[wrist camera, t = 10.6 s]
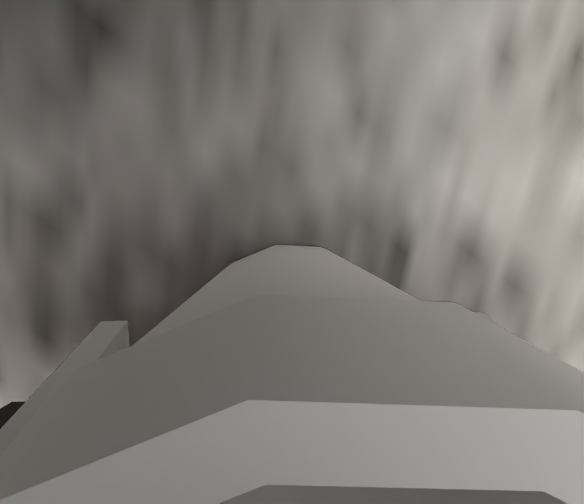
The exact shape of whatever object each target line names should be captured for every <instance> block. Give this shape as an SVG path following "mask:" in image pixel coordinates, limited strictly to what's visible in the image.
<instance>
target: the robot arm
mask: <svg viewBox="0 0 584 504" xmlns="http://www.w3.org/2000/svg"><path fill="white" fill-rule="evenodd" d="M473 313H475V314H477V315H479V316H481V317H483V318H484V319H486V320H488V321H490V322H492V323H494V324H496V325H497V326H499V325H498V324H497V323H496V322H494V321H493V320H492V319H491V318H489V317H488V316H487V315H486V314H484V313H483V312H473ZM499 327H500V326H499ZM501 328H502V327H501ZM128 347H130V344H129V331H128V321H101V322H100V323H99V324H98V325H97V326H96V327H95V328H94V329H93V330H92V331H91V332H90V333H89V334H88V336H87V337H86V338H85V339H84V340H83V341H82V342H81V343H80V344H79V345H78V346H77V347H76V348H75V349H74V351H73V352H72V353H71V354H70V355H69V356H68V357H67V358H66V359H65V360H64V361H63V362H62V363H61V365H60V366H59V367H58V368H57V369H56V370H55V371H54V372H53V373H52V374H51V375H50V376H49V377H48V378H47V380H46V381H45V382H44V383H43V384H42V385H41V386H40V387H39V388H38V389H37V390H36V391H35V392H34V393H33V395H32V396H31V397H30V398H29V399H28V400H27V401H26V402H11V403H10V404H8V405H6V406H4V407H2V408H1V409H0V456H1V455H2V454H3V452H4V451H5V450H6V449H7V448H8V447H9V445H10V444H11V443H12V442H13V441H14V440H15V439H16V437H17V436H18V435H19V434H20V433H21V432H22V430H23V429H24V428H25V427H26V426H27V425H28V424H29V422H30V421H31V420H32V419H33V418H34V417H35V415H36V414H37V413H38V412H39V411H40V410H41V409H42V407H43V406H44V405H45V404H46V403H47V402H48V400H49V399H50V398H51V397H52V396H53V395H54V394H55V392H56V391H57V390H58V389H59V388H60V387H61V385H62V384H63V383H64V382H65V381H66V380H67V379H68V377H69V376H70V375H71V374H72V373H73V372H74V370H75V369H77V368H79V367H82V366H84V365H87V364H89V363H91V362H94V361H96V360H99V359H101V358H103V357H106V356H108V355H111V354H113V353H116V352H118V351H120V350H123V349H125V348H128Z"/></svg>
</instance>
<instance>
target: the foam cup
mask: <svg viewBox="0 0 584 504" xmlns="http://www.w3.org/2000/svg"><path fill="white" fill-rule="evenodd" d="M0 504H584V372H582V371H580V370H578V369H577V368H575V367H573V366H571V365H569V364H567V363H566V362H564V361H562V360H560V359H558V358H556V357H554V356H553V355H551V354H549V353H547V352H545V351H543V350H542V349H540V348H538V347H536V346H534V345H532V344H531V343H529V342H527V341H525V340H523V339H521V338H519V337H518V336H516V335H514V334H512V333H510V332H508V331H507V330H505V329H503V328H501V327H499V326H497V325H496V324H494V323H492V322H490V321H488V320H486V319H484V318H483V317H481V316H479V315H477V314H475V313H473V312H472V311H470V310H468V309H466V308H464V307H462V306H461V305H459V304H457V303H455V302H437V301H420V300H418V299H416V298H414V297H412V296H411V295H409V294H407V293H405V292H403V291H402V290H400V289H398V288H396V287H394V286H393V285H391V284H389V283H387V282H385V281H384V280H382V279H380V278H378V277H376V276H375V275H373V274H371V273H369V272H367V271H366V270H364V269H362V268H360V267H358V266H356V265H354V264H353V263H351V262H349V261H347V260H345V259H343V258H341V257H340V256H338V255H336V254H334V253H332V252H330V251H328V250H327V249H325V248H322V247H312V246H290V245H274V246H271V247H269V248H266V249H264V250H262V251H259V252H257V253H254V254H252V255H250V256H247V257H245V258H242V259H240V260H238V261H235V262H233V263H232V264H230V265H228V266H227V267H226V268H225V269H224V270H222V271H221V272H220V273H219V274H218V275H216V276H215V277H214V278H213V279H212V280H210V281H209V282H208V283H207V284H206V285H204V286H203V287H202V288H201V289H200V290H198V291H197V292H196V293H195V294H194V295H192V296H191V297H190V298H189V299H188V300H186V301H185V302H184V303H183V304H182V305H180V306H179V307H178V308H177V309H176V310H174V311H173V312H172V313H171V314H170V315H168V316H167V317H166V318H165V319H164V320H162V321H161V322H160V323H159V324H158V325H156V326H155V327H154V328H153V329H152V330H150V331H149V332H148V333H147V334H146V335H144V336H143V337H142V338H141V339H140V340H138V341H137V342H136V343H135V344H134V345H132V346H130V347H128V348H125V349H123V350H120V351H118V352H116V353H113V354H111V355H108V356H106V357H103V358H101V359H99V360H96V361H94V362H91V363H89V364H87V365H84V366H82V367H79V368H77V369H75V370H74V372H73V373H72V374H71V375H70V376H69V377H68V379H67V380H66V381H65V382H64V383H63V384H62V385H61V387H60V388H59V389H58V390H57V391H56V392H55V394H54V395H53V396H52V397H51V398H50V399H49V400H48V402H47V403H46V404H45V405H44V406H43V407H42V409H41V410H40V411H39V412H38V413H37V414H36V415H35V417H34V418H33V419H32V420H31V421H30V422H29V424H28V425H27V426H26V427H25V428H24V429H23V430H22V432H21V433H20V434H19V435H18V436H17V437H16V439H15V440H14V441H13V442H12V443H11V444H10V445H9V447H8V448H7V449H6V450H5V451H4V452H3V454H2V455H1V456H0Z"/></svg>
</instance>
